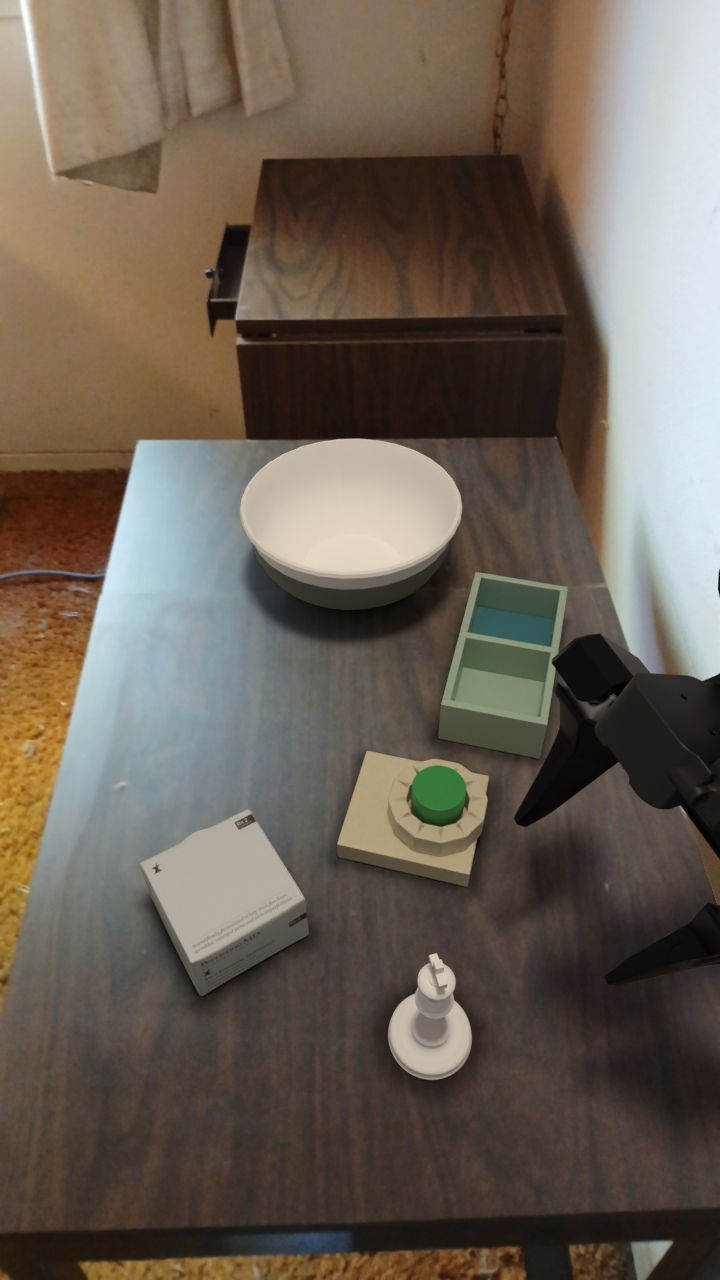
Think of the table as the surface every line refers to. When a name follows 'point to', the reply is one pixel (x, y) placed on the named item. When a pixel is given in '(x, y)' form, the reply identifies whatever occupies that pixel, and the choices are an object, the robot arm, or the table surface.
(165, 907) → the small box
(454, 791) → the button
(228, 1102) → the table surface
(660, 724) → the robot arm
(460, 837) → the beige button base
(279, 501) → the bowl
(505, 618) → the green divided tray
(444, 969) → the chess piece
